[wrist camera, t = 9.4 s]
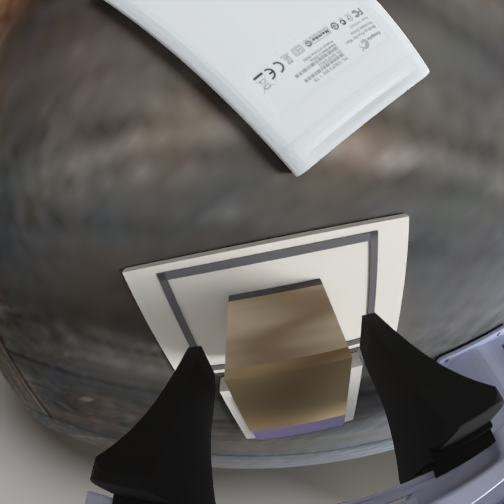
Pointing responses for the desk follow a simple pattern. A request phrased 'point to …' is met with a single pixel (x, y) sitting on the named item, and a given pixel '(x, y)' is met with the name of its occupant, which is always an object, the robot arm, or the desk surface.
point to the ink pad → (306, 427)
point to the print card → (273, 282)
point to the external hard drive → (289, 63)
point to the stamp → (286, 356)
